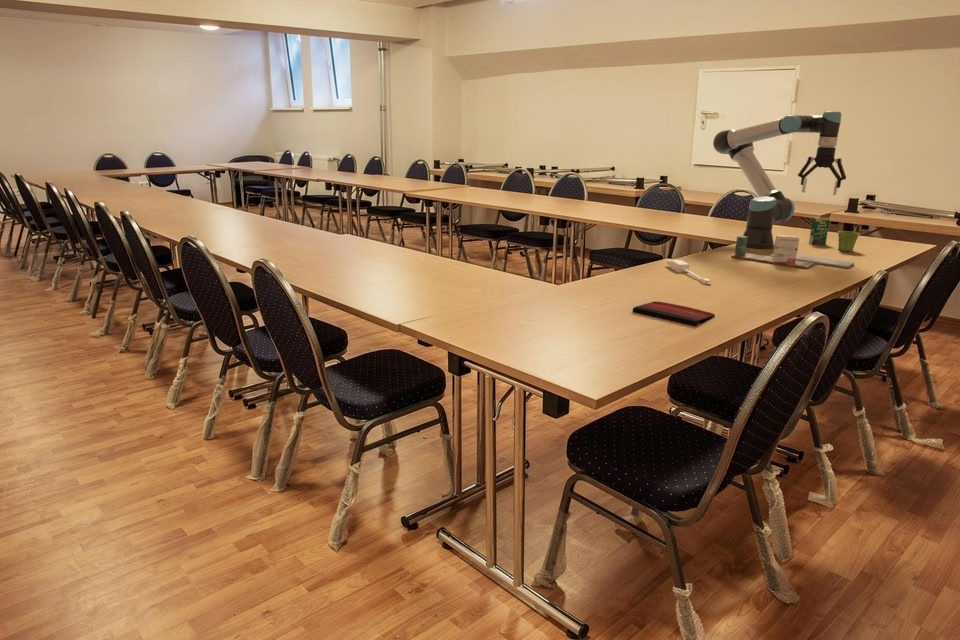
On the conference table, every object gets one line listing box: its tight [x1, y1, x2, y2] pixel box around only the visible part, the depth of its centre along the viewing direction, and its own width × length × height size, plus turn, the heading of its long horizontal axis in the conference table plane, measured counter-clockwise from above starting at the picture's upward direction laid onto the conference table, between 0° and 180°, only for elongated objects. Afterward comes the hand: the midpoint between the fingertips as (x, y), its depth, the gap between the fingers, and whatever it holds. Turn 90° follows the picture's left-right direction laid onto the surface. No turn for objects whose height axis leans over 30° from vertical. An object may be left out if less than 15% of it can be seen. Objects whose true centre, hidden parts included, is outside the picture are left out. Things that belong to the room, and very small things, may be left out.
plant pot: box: [837, 230, 861, 252], centre depth 317 cm, size 9×9×9 cm
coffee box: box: [808, 217, 831, 245], centre depth 332 cm, size 8×3×13 cm, turn 100°
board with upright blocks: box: [730, 235, 816, 269], centre depth 288 cm, size 32×11×9 cm, turn 50°
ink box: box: [772, 234, 800, 263], centre depth 284 cm, size 9×5×12 cm, turn 78°
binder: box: [632, 301, 716, 328], centre depth 208 cm, size 16×2×21 cm
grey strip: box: [769, 238, 855, 269], centre depth 291 cm, size 32×11×9 cm, turn 50°
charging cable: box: [666, 259, 713, 285], centre depth 260 cm, size 5×32×3 cm, turn 10°
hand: (818, 193), depth 309 cm, fingers open, 13 cm apart
